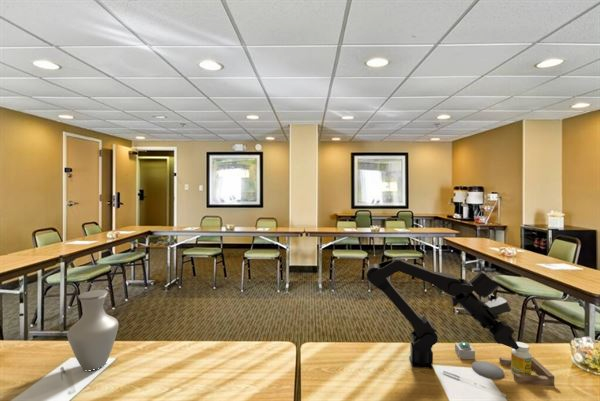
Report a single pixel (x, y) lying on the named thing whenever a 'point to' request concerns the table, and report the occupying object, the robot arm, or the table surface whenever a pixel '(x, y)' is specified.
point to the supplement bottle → (521, 359)
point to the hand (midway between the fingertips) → (510, 341)
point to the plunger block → (464, 352)
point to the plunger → (464, 345)
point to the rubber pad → (488, 369)
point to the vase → (93, 332)
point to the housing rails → (540, 370)
